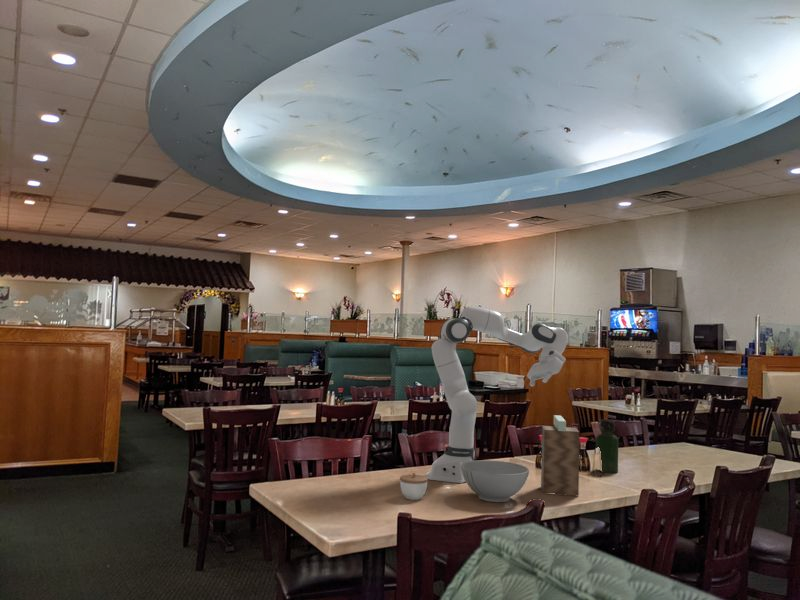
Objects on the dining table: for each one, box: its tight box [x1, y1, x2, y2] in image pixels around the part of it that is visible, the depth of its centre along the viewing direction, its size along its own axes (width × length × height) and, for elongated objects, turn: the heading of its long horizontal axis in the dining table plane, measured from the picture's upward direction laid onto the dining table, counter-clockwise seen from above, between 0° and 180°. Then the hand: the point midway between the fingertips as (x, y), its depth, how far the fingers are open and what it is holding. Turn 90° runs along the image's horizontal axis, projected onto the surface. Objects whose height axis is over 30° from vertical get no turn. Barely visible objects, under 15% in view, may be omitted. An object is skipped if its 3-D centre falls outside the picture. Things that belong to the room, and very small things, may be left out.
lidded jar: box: [399, 472, 429, 501], centre depth 237 cm, size 11×11×9 cm
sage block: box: [553, 414, 567, 431], centre depth 261 cm, size 3×21×4 cm, turn 171°
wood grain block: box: [540, 425, 580, 496], centre depth 256 cm, size 14×12×26 cm
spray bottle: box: [595, 418, 619, 474], centre depth 302 cm, size 10×10×25 cm
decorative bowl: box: [461, 460, 530, 503], centre depth 241 cm, size 27×27×12 cm
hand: (537, 383), depth 269 cm, fingers open, 8 cm apart
